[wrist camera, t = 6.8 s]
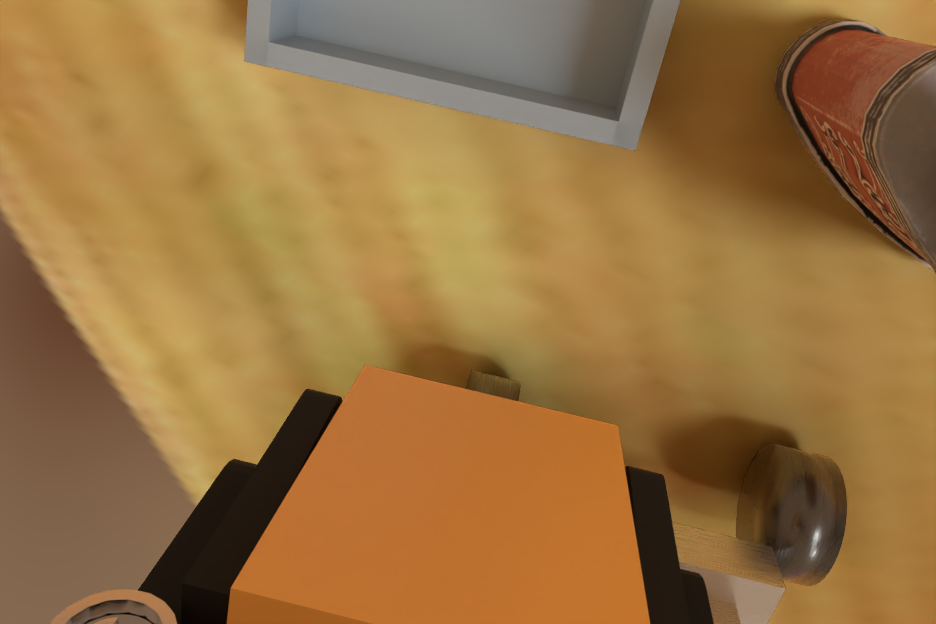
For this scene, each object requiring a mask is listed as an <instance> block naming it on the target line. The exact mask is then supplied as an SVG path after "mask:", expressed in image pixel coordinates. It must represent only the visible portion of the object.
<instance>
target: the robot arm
mask: <svg viewBox="0 0 936 624" xmlns="http://www.w3.org/2000/svg"><path fill="white" fill-rule="evenodd" d="M341 404H342V398H341V397H339V396H335V395H331V394H327V393H323V392H319V391H315V390H310V389H306V390H305V391H304V392H303V394H302V396H301V397H300V399H299V400H298V402H297V403H296V405H295V406H294V408H293V410H292V411H291V413H290V414H289V416H288V417H287V419H286V421H285V422H284V424H283V425H282V427H281V428H280V430H279V432H278V433H277V435H276V436H275V438H274V439H273V441H272V443H271V444H270V446H269V447H268V449H267V450H266V452H265V454H264V455H263V457H262V458H261V460H260V461H259V463H258V465H256V464H252V463H248V462H244V461H240V460H236V459H233V460H231V461H229V462H228V463H227V465H226V466H225V467H224V468H223V470H222V471H221V472H220V474H219V475H218V477H217V478H216V480H215V481H214V482H213V484H212V485H211V487H210V488H209V490H208V491H207V492H206V494H205V495H204V497H203V498H202V500H201V501H200V502H199V504H198V505H197V507H196V508H195V509H194V511H193V512H192V514H191V515H190V517H189V518H188V519H187V521H186V522H185V524H184V525H183V527H182V528H181V530H180V531H179V532H178V534H177V535H176V537H175V538H174V540H173V541H172V542H171V544H170V545H169V547H168V548H167V549H166V551H165V552H164V554H163V555H162V557H161V558H160V559H159V561H158V562H157V564H156V565H155V567H154V568H153V569H152V571H151V572H150V574H149V575H148V577H147V578H146V580H145V581H144V582H143V584H142V585H141V587H140V588H139V589H138V590H133V589H122V590H109V591H105V592H101V593H97V594H93V595H90V596H88V597H86V598H84V599H82V600H80V601H77V602H75V603H73V604H71V605H70V606H69V607H68V608H66V609H65V610H64V611H62V612H61V613H60V614H58V615H57V616H56V617H55V618H54V619H53V620H52V621H51V623H50V624H227V616H228V608H229V599H230V590H231V587H232V585H233V583H234V582H235V580H236V578H237V577H238V575H239V573H240V572H241V570H242V568H243V567H244V565H245V563H246V562H247V560H248V558H249V557H250V555H251V553H252V552H253V550H254V548H255V547H256V545H257V543H258V542H259V540H260V538H261V537H262V535H263V533H264V532H265V530H266V528H267V527H268V525H269V523H270V522H271V520H272V518H273V517H274V515H275V513H276V512H277V510H278V508H279V507H280V505H281V503H282V502H283V500H284V498H285V497H286V495H287V493H288V492H289V490H290V488H291V487H292V485H293V483H294V482H295V480H296V478H297V477H298V475H299V473H300V472H301V470H302V468H303V467H304V465H305V464H306V462H307V460H308V459H309V457H310V455H311V454H312V452H313V450H314V449H315V447H316V445H317V444H318V442H319V440H320V439H321V437H322V435H323V434H324V432H325V430H326V429H327V427H328V425H329V424H330V422H331V420H332V419H333V417H334V415H335V414H336V412H337V410H338V409H339V407H340V405H341ZM625 472H626V478H627V484H628V490H629V496H630V503H631V509H632V515H633V521H634V527H635V533H636V539H637V546H638V552H639V558H640V564H641V570H642V576H643V582H644V589H645V595H646V601H647V607H648V613H649V619H650V624H714V622H713V617H712V612H711V608H710V603H709V598H708V593H707V589H706V585H705V582H704V579H703V577H702V576H701V575H700V574H699V573H695V572H691V571H687V570H683V569H680V565H679V559H678V553H677V547H676V542H675V536H674V530H673V524H672V519H671V513H670V507H669V501H668V496H667V490H666V484H665V479H664V476H663V475H662V474H658V473H654V472H650V471H646V470H642V469H638V468H633V467H629V466H626V467H625Z"/></svg>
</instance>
